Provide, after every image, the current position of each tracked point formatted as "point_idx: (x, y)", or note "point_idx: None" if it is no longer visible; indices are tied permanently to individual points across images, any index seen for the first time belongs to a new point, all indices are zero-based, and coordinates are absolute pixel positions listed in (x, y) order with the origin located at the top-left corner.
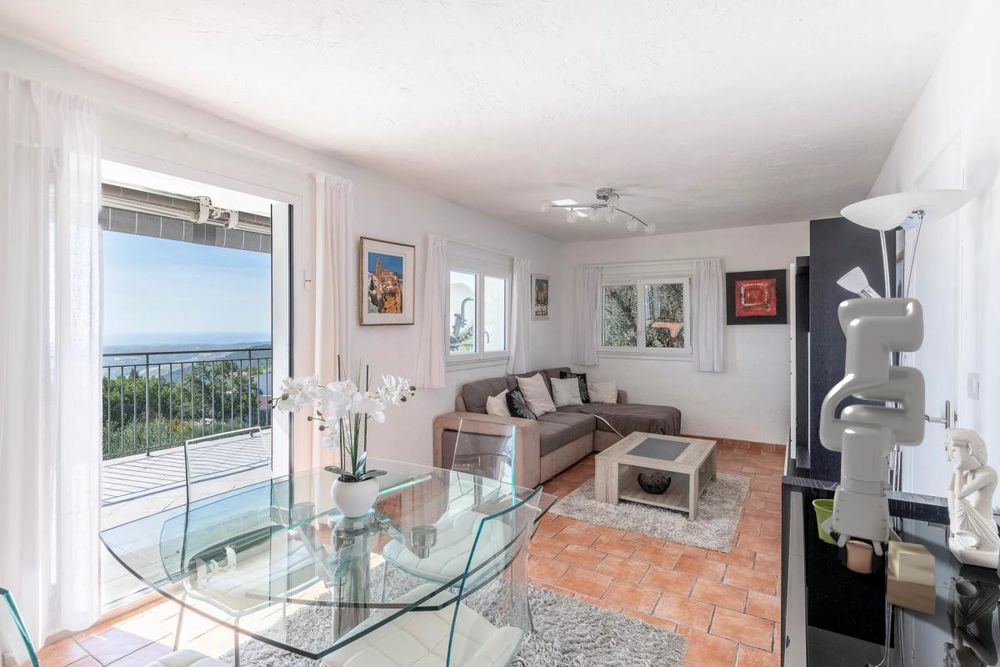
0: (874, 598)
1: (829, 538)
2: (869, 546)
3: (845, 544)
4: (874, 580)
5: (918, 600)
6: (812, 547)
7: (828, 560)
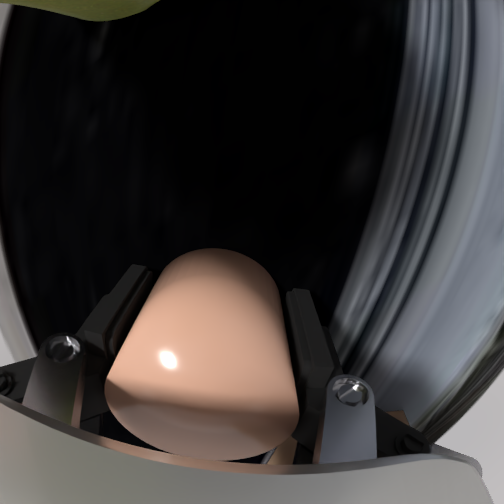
0: (237, 462)
1: (72, 15)
2: (276, 414)
3: (108, 408)
4: None
5: None
6: (14, 143)
7: (81, 280)
